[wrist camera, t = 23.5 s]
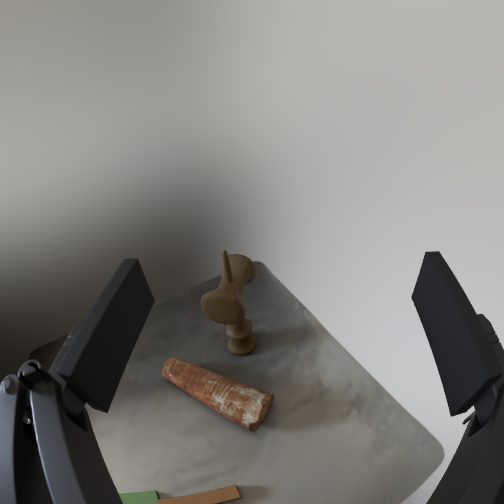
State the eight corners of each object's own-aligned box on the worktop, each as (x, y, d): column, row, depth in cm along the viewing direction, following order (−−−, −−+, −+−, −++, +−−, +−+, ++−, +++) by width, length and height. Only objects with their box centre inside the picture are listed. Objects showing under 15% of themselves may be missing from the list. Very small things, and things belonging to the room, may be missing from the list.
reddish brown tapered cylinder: (257, 439, 33) (253, 427, 30) (160, 380, 42) (148, 362, 39) (279, 405, 37) (279, 389, 34) (183, 356, 46) (174, 336, 43)
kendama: (218, 365, 44) (188, 272, 33) (232, 323, 52) (214, 230, 41) (253, 370, 43) (236, 275, 32) (264, 326, 51) (254, 231, 40)
